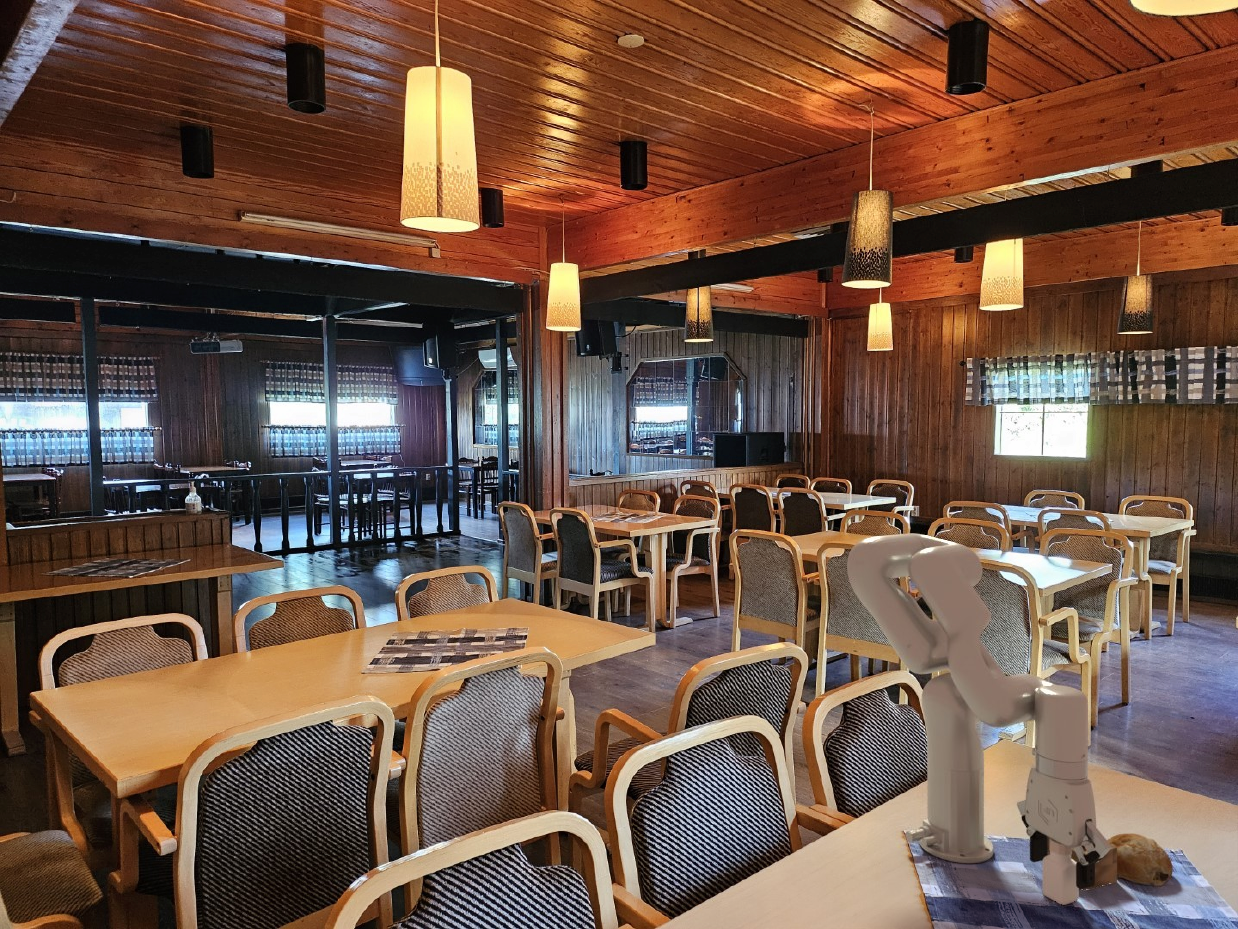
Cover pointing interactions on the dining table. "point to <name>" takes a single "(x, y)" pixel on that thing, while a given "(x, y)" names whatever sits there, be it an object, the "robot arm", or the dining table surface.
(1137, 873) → the bread roll
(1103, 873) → the wooden open box
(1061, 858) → the pepper shaker
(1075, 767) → the robot arm
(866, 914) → the dining table surface
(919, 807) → the dining table surface
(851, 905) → the dining table surface
